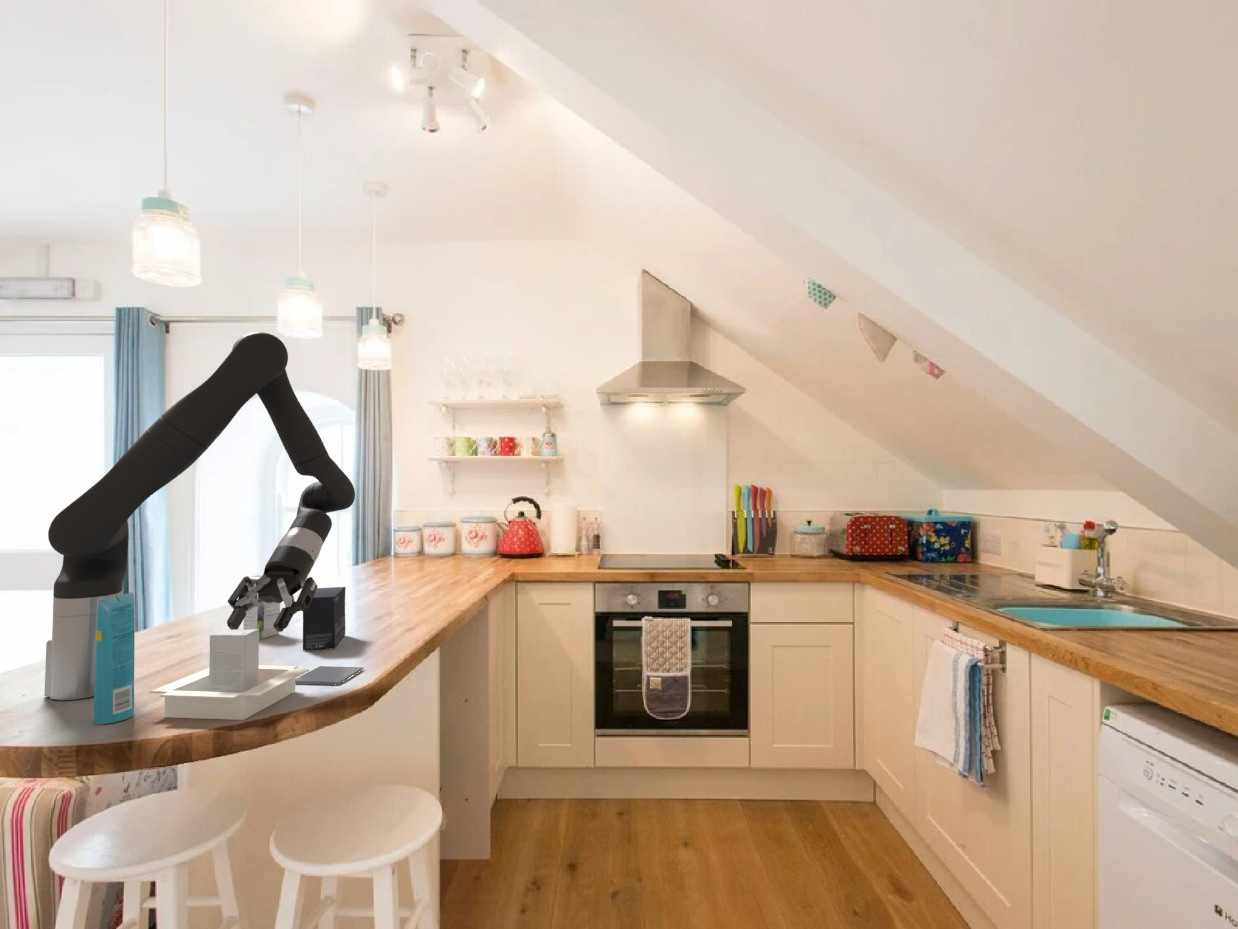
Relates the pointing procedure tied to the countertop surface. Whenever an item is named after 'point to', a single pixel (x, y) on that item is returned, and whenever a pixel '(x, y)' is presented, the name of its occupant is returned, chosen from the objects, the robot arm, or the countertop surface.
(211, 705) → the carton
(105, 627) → the tube
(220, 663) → the skincare box
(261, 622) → the syrup box
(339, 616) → the small box
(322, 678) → the coaster
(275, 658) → the countertop surface
